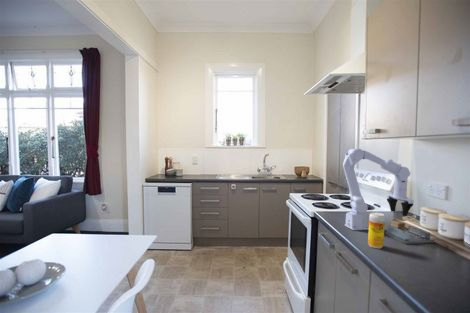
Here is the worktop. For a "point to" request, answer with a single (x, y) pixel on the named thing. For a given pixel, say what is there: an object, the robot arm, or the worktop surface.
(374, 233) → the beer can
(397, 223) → the block
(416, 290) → the worktop surface
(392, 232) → the sliding jaw
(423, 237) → the vise
